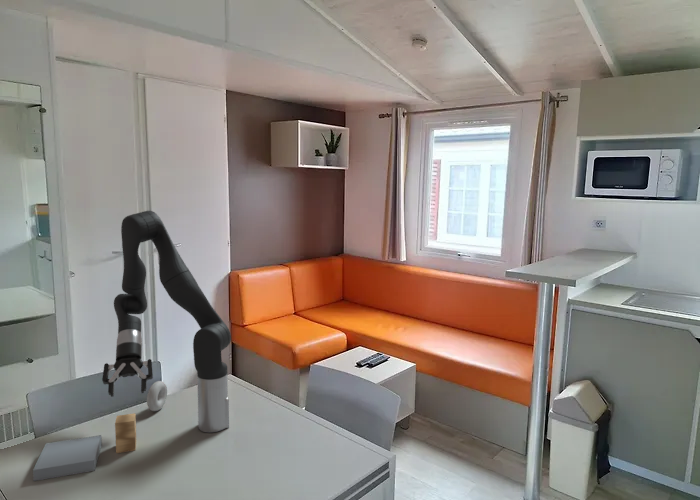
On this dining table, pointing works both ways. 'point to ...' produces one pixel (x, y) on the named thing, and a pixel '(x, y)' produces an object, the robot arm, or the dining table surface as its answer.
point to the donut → (157, 396)
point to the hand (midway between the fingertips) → (127, 393)
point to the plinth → (68, 457)
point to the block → (125, 433)
